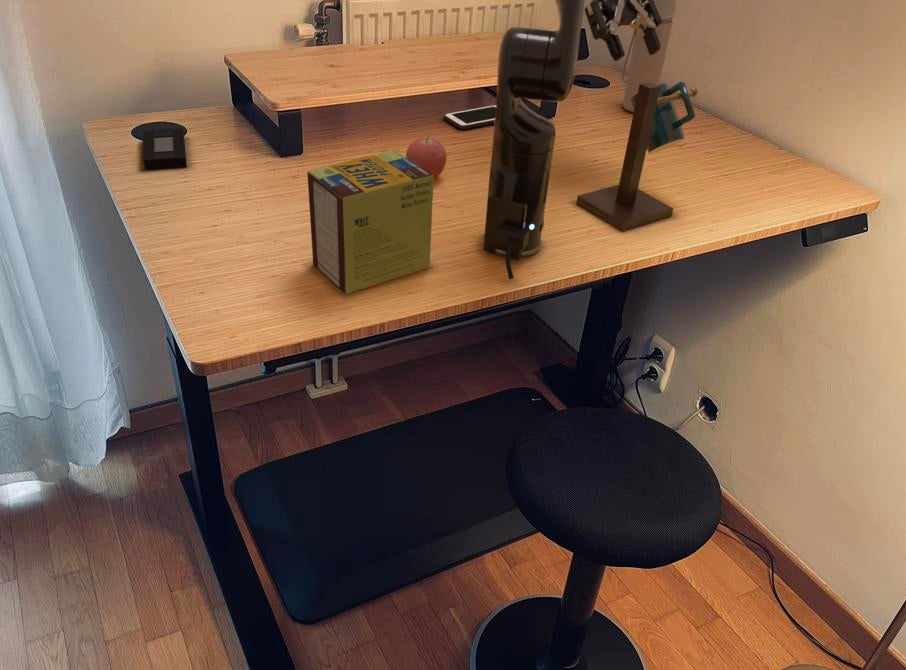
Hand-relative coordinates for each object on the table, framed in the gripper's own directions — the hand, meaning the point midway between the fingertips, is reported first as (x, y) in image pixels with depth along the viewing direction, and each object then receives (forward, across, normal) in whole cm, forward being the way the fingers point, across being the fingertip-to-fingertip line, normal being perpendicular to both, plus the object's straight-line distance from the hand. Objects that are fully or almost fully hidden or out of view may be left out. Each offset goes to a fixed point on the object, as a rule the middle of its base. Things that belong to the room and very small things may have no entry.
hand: (638, 55), depth 137 cm
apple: (+5, -33, +28) cm, 43 cm away
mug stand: (+24, -5, +8) cm, 26 cm away
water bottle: (-2, +31, +35) cm, 46 cm away
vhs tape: (-18, -72, +50) cm, 90 cm away
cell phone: (-10, -6, +42) cm, 43 cm away
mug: (+17, 0, -1) cm, 17 cm away
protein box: (+21, -57, +11) cm, 62 cm away
